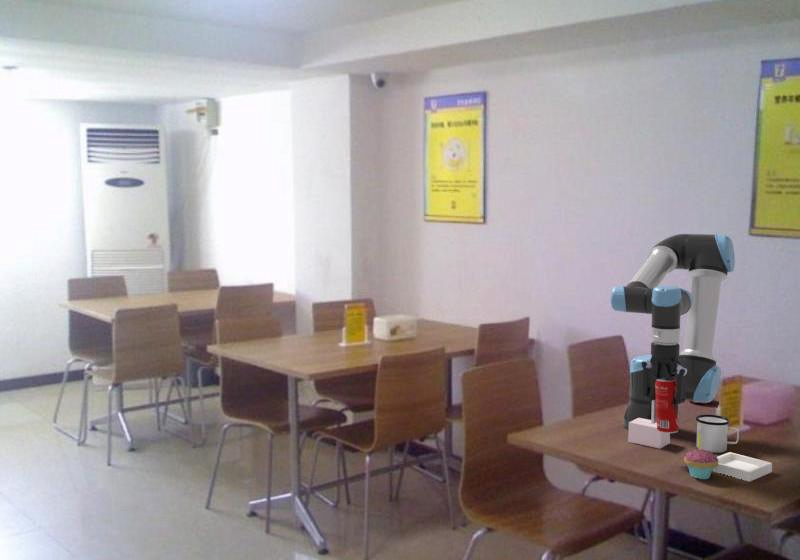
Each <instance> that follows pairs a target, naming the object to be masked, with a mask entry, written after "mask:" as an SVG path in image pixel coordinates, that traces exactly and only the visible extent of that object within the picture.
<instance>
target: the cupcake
mask: <svg viewBox="0 0 800 560" xmlns="http://www.w3.org/2000/svg"><path fill="white" fill-rule="evenodd" d="M717 457H718V456H717V455H715V453H712V452H709V451H706V450H701V433H700V432H699V433H698V448H695V449H692V450H688V452H686V453H685V454H684V459H683V462H684V463H685V464H686V465H687V468H688V470H689V474H690V477H692V478H693V477H694V478H693V479H697V478H699V479H698V480H708V479H710V477H711V474H712V472H713V471H712V470H713V468H714V467H717V466H718V458H717Z"/></svg>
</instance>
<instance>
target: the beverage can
mask: <svg viewBox="0 0 800 560" xmlns="http://www.w3.org/2000/svg"><path fill="white" fill-rule="evenodd" d="M655 392H656V415H657V430H658V431H659V432H661V433H670V434H675V433H678V432H679V429H680V428H679V427H680V424H679V422H680V421H679V413H678V414H676V415H675V404H674V405H671V404H670V403H672V402H673V395H674V397H675V398H676V397H677V383H676V380H672V381H667V380H666V379H665V377H661V378H659V379H656V383H655ZM675 400H676V399H675ZM676 411H677V409H676ZM676 413H677V412H676Z"/></svg>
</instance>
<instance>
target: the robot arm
mask: <svg viewBox="0 0 800 560" xmlns="http://www.w3.org/2000/svg"><path fill="white" fill-rule="evenodd" d="M735 259H736V258H735V250H734V244H733V240H732V239H731V238H730V236H729V235H727V234H726V235H725V234H716V233H715V234H704V233H703V234H702V233H701V234H698V233H680V234H679V233H678V234H675V235H671V236H669V237H667V238H664V239H663V240H661V241H659V242H658V243H656V244H655V245H654V246H652V248H651V249H650V251H648V254H647V260H646V261H645V262H644V263H643V264H642V266H641V267H640V268H639V270H638V271H637V272H636V273H635V275H634V276H633V277H632V278H631V280H630V281H629V283H627V284H626V286H624V285H619V286H618V285H617V286H614V287H613V288H612V291H611V294H610V306H611V308H612V309H613V311H615V312H623V313H632V314H647V315H651V331H650V332H651V333H650V334H651V335H650V337H651V339H650V340H651V341H652V342H651V343H650V354H647V355H639V356H636V357H634V358H633V359H632V360H631V361H630V370H629V396H628V397H629V401H628V404H627V407H626V410H625V412H624V415H623V417H622V418H623V419H622V426H623V427H624V428H625V429H627V430H629V422H631V421H633V420H635V419H637V418H643V419H648V420H651V423H653V424H654V423H657V415H656V392H655V383H656V379H659V378H661V377H665V379H666V380H667V381H672V380H676V383H677V397H676V398H675V397H674V395H673V402H672V403H670V404H671V405H674V404H675V415H676V414H678V415H679V405H680V404H683V403H685V402H686V401H688V402H692V401H694V402H703V403H704V404H707V403H711V402H713V399H714V400H715V398H714V397H716V395H717V393H718V390H719V386H720V384H721V383H720V382H721V374H722V370H721V368H720V366H718V365H717V360H716V359H715V358H714V356H713V349H714V348H713V347H714V340H715V332H716V326H717V317H718V308H719V302H720V293H721V286H722V282H724V281H725V280H726V279H727V278H728V273H731V272H733V271H734V270H735V264H736V262H735ZM674 270H686V271H688V276H690V278H691V279H692V282H691V288H690V292H689V290H687V289H685V288H682V287H678V286H673V285H660V284H661V283H662V282H663V280H665V279H664V278H665V277H666V276H667V275H668V274H670V273H672V272H673V271H674ZM686 314H687V320H686V325H685V326H686V327H685V331H684V332H685V333H684V341H683V347H682V351H681V352H680V344H679V343H680V342H681V341H680V340H681V316H684V315H686ZM675 399H676V400H675ZM676 409H677V411H676ZM676 412H677V413H676Z"/></svg>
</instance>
